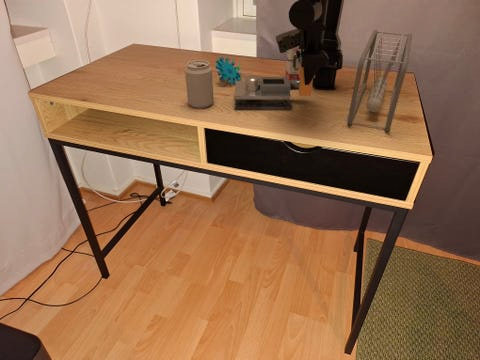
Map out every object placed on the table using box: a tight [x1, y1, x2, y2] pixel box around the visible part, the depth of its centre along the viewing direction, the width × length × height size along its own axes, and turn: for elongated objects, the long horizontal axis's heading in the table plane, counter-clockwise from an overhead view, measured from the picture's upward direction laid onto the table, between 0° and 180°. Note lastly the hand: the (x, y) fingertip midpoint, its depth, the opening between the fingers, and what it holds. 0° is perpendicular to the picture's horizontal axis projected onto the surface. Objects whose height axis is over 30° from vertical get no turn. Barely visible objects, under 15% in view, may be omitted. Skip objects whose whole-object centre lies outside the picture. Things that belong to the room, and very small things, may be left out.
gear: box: [214, 56, 242, 86], centre depth 117 cm, size 11×6×10 cm
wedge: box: [298, 65, 315, 97], centre depth 93 cm, size 4×2×9 cm, turn 89°
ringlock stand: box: [234, 74, 300, 111], centre depth 103 cm, size 22×12×7 cm, turn 89°
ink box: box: [284, 46, 300, 80], centre depth 116 cm, size 9×5×12 cm, turn 98°
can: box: [184, 59, 215, 109], centre depth 101 cm, size 8×8×12 cm
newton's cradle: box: [346, 29, 413, 132], centre depth 97 cm, size 30×10×18 cm, turn 157°
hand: (306, 83), depth 93 cm, fingers closed on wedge, 2 cm apart
